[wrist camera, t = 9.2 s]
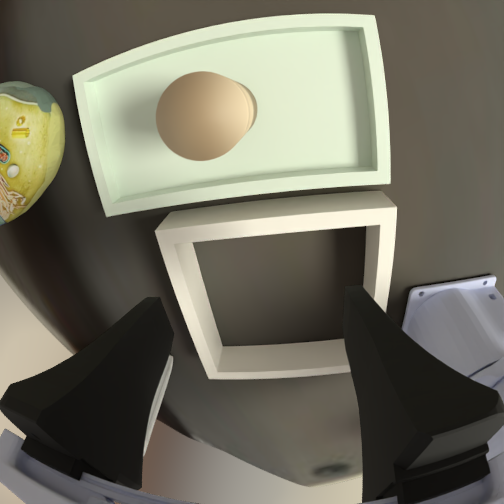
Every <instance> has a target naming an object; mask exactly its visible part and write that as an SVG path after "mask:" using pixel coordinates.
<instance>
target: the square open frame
mask: <svg viewBox="0 0 504 504" xmlns="http://www.w3.org/2000/svg"><path fill="white" fill-rule="evenodd" d="M396 218H397V207H396V206H395V204H394V203H393V202H392V201H391V200H390V199H389V198H388V197H387V196H386V195H385V194H384V193H383V192H382V191H381V190H379V191H362V192H347V193H334V194H321V195H309V196H298V197H288V198H278V199H268V200H259V201H250V202H241V203H233V204H224V205H217V206H209V207H201V208H194V209H187V210H180V211H173V212H170V213H169V214H168V216H167V217H166V218H165V219H164V220H163V222H162V223H161V224H160V225H159V226H158V228H157V229H156V230H155V234H156V237H157V240H158V243H159V246H160V250H161V253H162V256H163V259H164V262H165V265H166V268H167V271H168V274H169V277H170V280H171V283H172V286H173V288H174V291H175V294H176V297H177V300H178V302H179V305H180V308H181V311H182V313H183V316H184V319H185V321H186V324H187V327H188V329H189V332H190V334H191V337H192V339H193V342H194V344H195V347H196V349H197V352H198V354H199V357H200V359H201V362H202V364H203V366H204V369H205V371H206V373H207V376H208V378H209V379H269V378H289V377H304V376H316V375H327V374H336V373H345V372H351V370H350V366H349V362H348V358H347V354H346V350H345V342H344V339H336V340H326V341H316V342H304V343H291V344H275V345H255V346H222V343H221V339H220V336H219V333H218V330H217V327H216V323H215V320H214V317H213V313H212V310H211V307H210V303H209V300H208V297H207V293H206V290H205V286H204V283H203V279H202V276H201V272H200V268H199V265H198V261H197V257H196V254H195V250H194V246H193V243H192V242H199V241H208V240H218V239H228V238H238V237H248V236H258V235H269V234H279V233H290V232H301V231H312V230H323V229H335V228H346V227H358V226H366V250H365V269H364V283H363V287H364V289H365V290H366V291H367V292H368V293H369V294H370V296H371V297H372V298H373V299H374V300H375V301H376V303H377V304H378V305H379V306H380V307H381V308H382V309H383V310H384V312H385V313H386V308H387V301H388V295H389V288H390V281H391V273H392V264H393V255H394V245H395V233H396Z"/></svg>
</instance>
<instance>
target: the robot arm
mask: <svg viewBox="0 0 504 504" xmlns="http://www.w3.org/2000/svg"><path fill="white" fill-rule="evenodd" d="M495 282H496V277H495V276H494V275H489V276H483V277H477V278H472V279H466V280H460V281H454V282H447V283H441V284H435V285H428V286H421V287H415V288H413V289H411V291H410V293H409V297H408V302H407V307H406V312H405V316H404V321H403V325H402V329H401V328H400V327H399V326H398V325H397V324H396V323H395V322H394V321H393V320H392V319H391V318H390V317H389V316H388V315H387V314H386V313H385V312H384V310H383V309H382V308H381V307H380V306H379V305H378V304H377V303H376V301H375V300H374V299H373V298H372V297H371V296H370V294H369V293H368V292H367V291H366V290H365V289H364V287H363V286H362V285H355V286H345V297H344V312H343V326H342V328H343V335H344V342H345V350H346V354H347V358H348V362H349V366H350V370H351V374H352V378H353V382H354V386H355V391H356V395H357V400H358V406H359V414H360V425H361V438H362V460H363V493H362V503H359V504H504V298H503V297H502V295H501V294H500V293H499V292H498V290H497V289H496V288H495V287H494V285H495ZM420 292H421V293H420ZM419 293H420V294H419ZM173 337H174V332H173V330H172V327H171V325H170V322H169V320H168V317H167V315H166V312H165V309H164V307H163V304H162V302H161V299H160V297H147V298H145V299H144V300H142V301H141V302H140V303H139V304H137V305H136V306H135V307H134V308H133V309H131V310H130V311H129V312H128V313H127V314H126V315H125V316H123V317H122V318H121V319H120V320H119V321H118V322H116V323H115V324H114V325H113V326H112V327H111V328H109V329H108V330H107V331H106V332H104V333H103V334H102V335H101V336H100V337H98V338H97V339H96V340H95V341H93V342H92V343H91V344H89V345H88V346H87V347H85V348H84V349H82V350H81V351H79V352H78V353H76V354H75V355H73V356H72V357H70V358H69V359H67V360H65V361H63V362H61V363H60V364H58V365H56V366H54V367H53V368H51V369H48V370H46V371H44V372H42V373H40V374H38V375H35V376H33V377H30V378H28V379H25V380H22V381H19V382H16V383H13V384H11V385H10V386H9V387H8V389H7V390H6V392H5V393H4V395H3V397H2V398H1V400H0V410H1V412H2V413H3V414H4V415H5V416H6V417H7V418H8V419H9V420H10V421H11V422H12V423H13V424H14V425H15V426H16V427H17V428H19V429H20V430H21V431H22V432H23V433H24V434H25V435H26V439H25V440H23V439H22V438H20V437H19V436H17V435H15V434H14V433H12V432H11V431H9V430H7V429H4V431H3V433H2V435H1V437H0V482H1V483H2V484H3V485H5V486H6V487H7V488H8V489H9V490H11V491H12V492H13V493H14V494H15V495H16V496H17V497H19V498H20V499H21V500H22V501H23V502H25V503H26V504H115V503H114V501H115V502H118V503H121V504H198V503H192V502H186V501H181V500H175V499H171V498H166V497H161V496H157V495H153V494H149V493H145V492H141V491H138V490H139V489H140V488H142V464H143V453H144V444H145V438H146V431H147V425H148V421H149V416H150V411H151V407H152V403H153V400H154V397H155V394H156V391H157V388H158V386H159V383H160V380H161V377H162V375H163V372H164V369H165V366H166V364H167V361H168V358H169V355H170V351H171V347H172V342H173Z"/></svg>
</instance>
